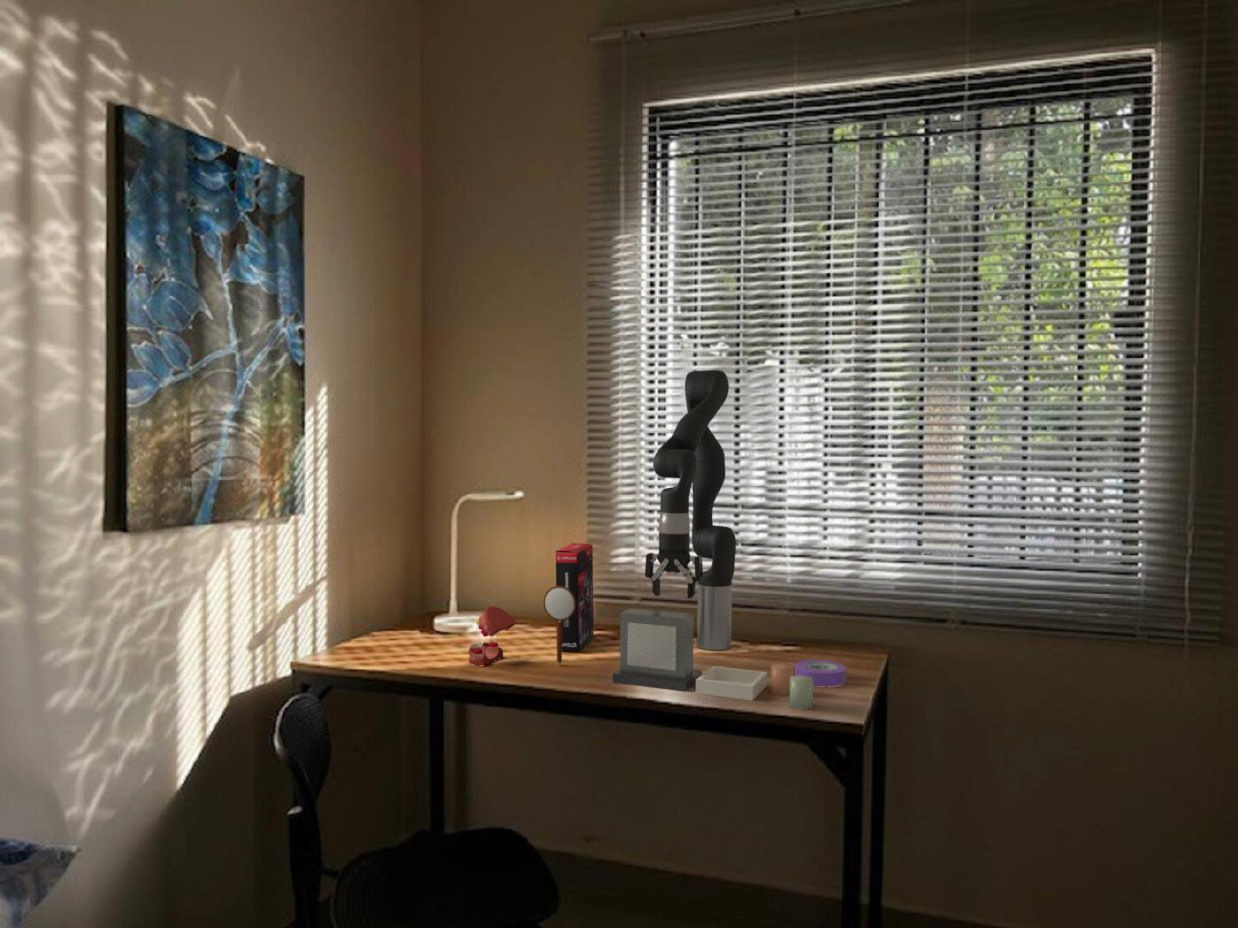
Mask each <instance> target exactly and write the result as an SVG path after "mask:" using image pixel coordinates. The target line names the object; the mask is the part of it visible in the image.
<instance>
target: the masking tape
mask: <svg viewBox="0 0 1238 928" xmlns="http://www.w3.org/2000/svg"><path fill="white" fill-rule="evenodd" d="M794 671H795V672H794V673H795V675H794V676H808V677H811V678H813V686H825V687H828V686H837V685H841V684H843V683H845V682H846V681H847V667H846V666H845V665H844V664H842V663H839V662H836V661H832V660H824V659H823V660H822V659H807V660H801V661H797V662H796V663H795V670H794ZM846 683H847V682H846Z"/></svg>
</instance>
